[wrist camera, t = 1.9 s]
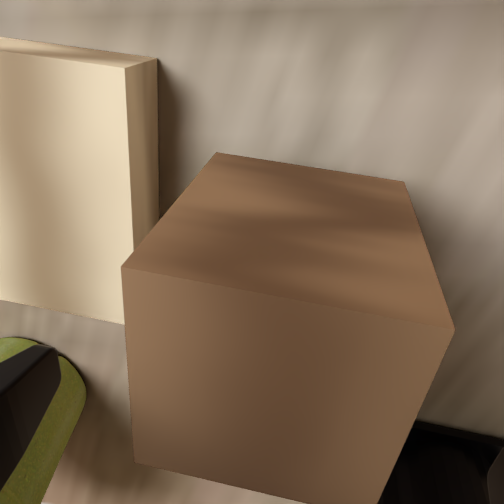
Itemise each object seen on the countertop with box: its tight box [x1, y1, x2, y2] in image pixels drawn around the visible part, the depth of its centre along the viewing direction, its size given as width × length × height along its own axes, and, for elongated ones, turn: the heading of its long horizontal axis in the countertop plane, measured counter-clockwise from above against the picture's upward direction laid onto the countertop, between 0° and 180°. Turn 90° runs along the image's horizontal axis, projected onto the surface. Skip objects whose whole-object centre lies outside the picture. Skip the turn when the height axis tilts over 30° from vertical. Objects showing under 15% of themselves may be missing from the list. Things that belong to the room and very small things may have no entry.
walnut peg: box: [121, 152, 455, 504], centre depth 12 cm, size 6×6×9 cm
